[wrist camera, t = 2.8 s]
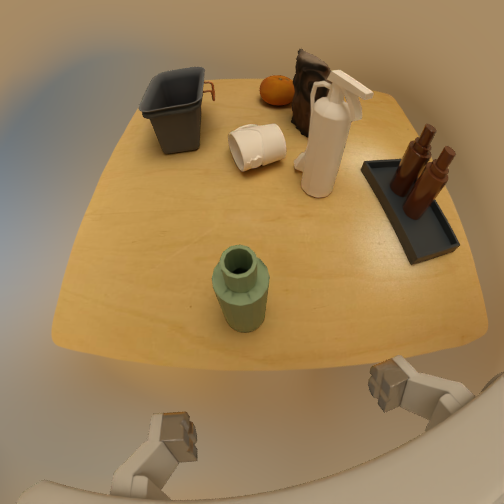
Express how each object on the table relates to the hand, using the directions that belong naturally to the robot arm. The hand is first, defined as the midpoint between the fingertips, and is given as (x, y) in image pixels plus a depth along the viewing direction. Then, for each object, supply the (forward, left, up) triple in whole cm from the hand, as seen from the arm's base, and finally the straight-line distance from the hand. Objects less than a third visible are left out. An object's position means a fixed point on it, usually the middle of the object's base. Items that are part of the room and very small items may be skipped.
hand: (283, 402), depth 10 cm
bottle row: (+27, -38, -28) cm, 54 cm away
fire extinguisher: (+35, -19, -29) cm, 49 cm away
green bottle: (+12, 0, -29) cm, 31 cm away
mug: (+45, -9, -29) cm, 55 cm away
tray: (+25, -38, -29) cm, 54 cm away
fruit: (+68, -21, -29) cm, 77 cm away
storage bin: (+59, +5, -29) cm, 66 cm away
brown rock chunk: (+54, -27, -29) cm, 67 cm away
